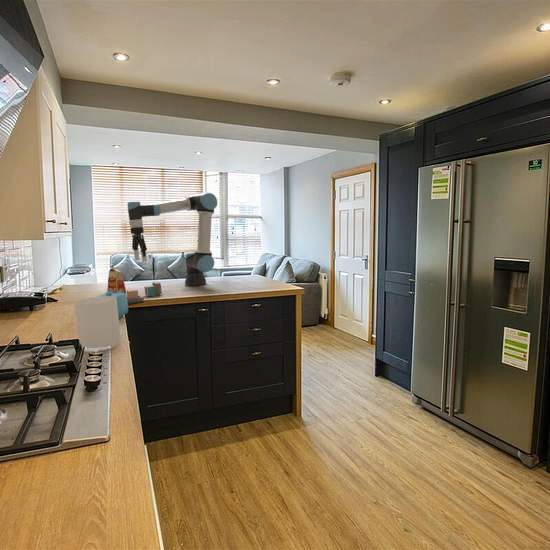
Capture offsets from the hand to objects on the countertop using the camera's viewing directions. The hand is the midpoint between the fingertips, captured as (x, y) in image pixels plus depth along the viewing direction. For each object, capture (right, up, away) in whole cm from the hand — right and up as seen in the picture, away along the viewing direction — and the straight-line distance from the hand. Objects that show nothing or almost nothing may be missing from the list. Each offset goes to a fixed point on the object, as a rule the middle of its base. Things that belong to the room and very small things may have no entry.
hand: (140, 261), depth 241 cm
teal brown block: (+6, -22, +5) cm, 23 cm away
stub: (0, -24, -12) cm, 27 cm away
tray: (0, -24, -12) cm, 27 cm away
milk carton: (-16, -23, +3) cm, 28 cm away
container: (+16, -36, -91) cm, 100 cm away
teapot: (+4, -30, -50) cm, 59 cm away
